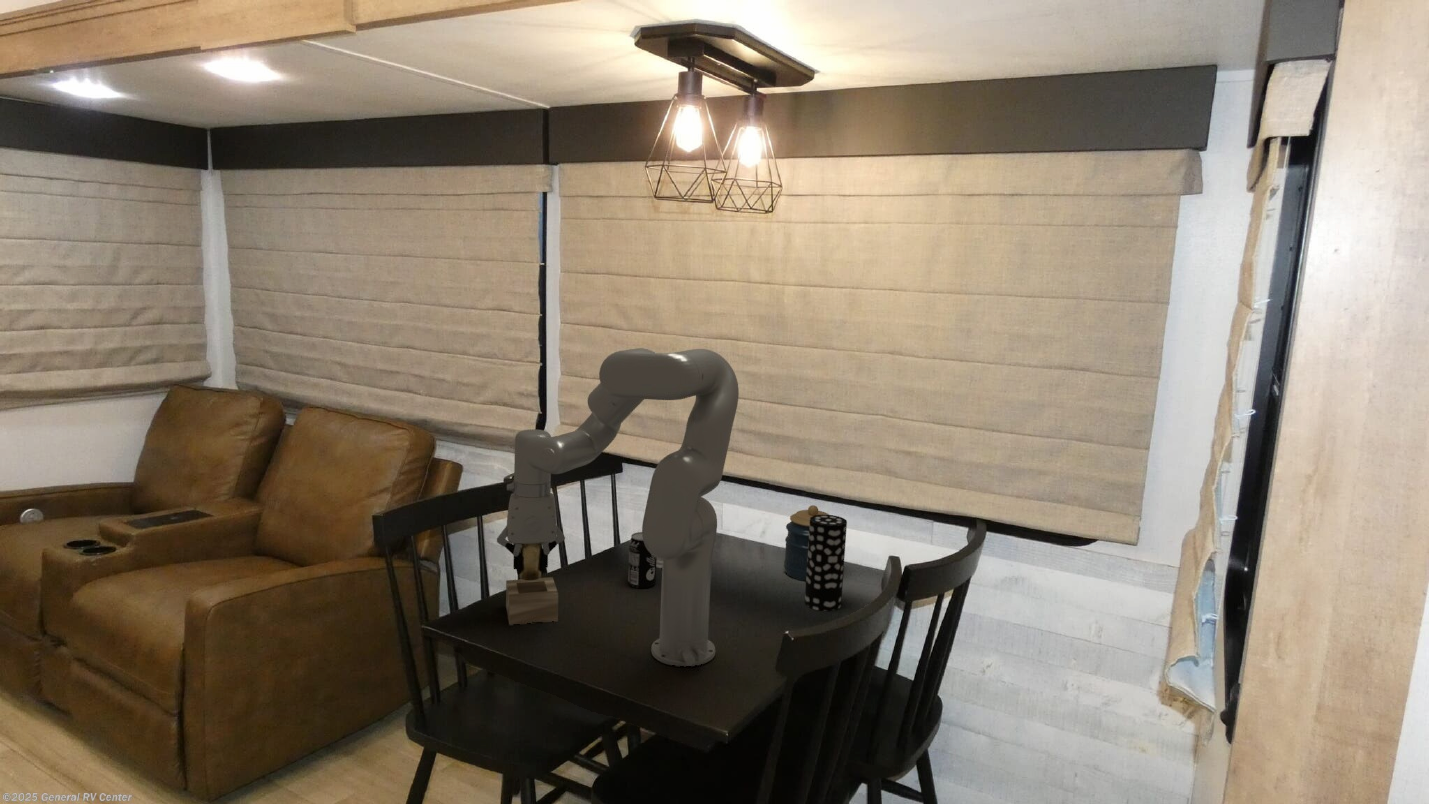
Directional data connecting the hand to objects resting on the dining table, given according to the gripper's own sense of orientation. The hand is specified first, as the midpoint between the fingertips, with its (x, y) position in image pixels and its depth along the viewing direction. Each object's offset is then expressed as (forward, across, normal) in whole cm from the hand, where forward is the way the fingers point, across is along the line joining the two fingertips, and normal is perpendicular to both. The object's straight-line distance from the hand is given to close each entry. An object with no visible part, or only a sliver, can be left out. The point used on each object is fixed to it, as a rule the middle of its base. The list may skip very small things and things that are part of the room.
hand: (530, 570), depth 181 cm
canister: (+9, +70, +11) cm, 72 cm away
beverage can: (+10, +27, +12) cm, 31 cm away
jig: (+10, 0, 0) cm, 10 cm away
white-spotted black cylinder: (+9, +65, -8) cm, 67 cm away
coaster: (+10, +37, +25) cm, 46 cm away
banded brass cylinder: (+1, 0, 0) cm, 1 cm away
